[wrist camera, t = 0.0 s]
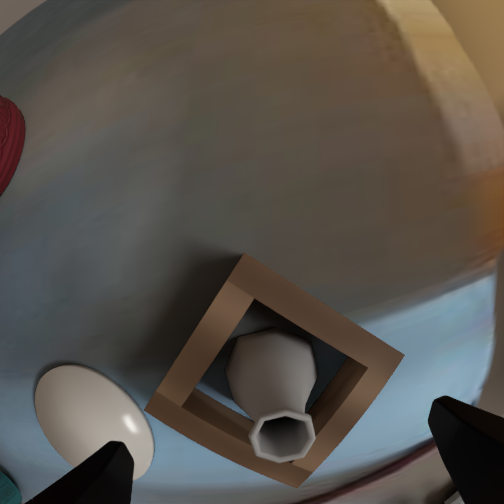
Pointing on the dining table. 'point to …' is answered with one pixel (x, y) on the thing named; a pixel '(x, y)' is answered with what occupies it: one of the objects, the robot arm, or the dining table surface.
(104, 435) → the ceramic plate
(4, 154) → the canister
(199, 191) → the dining table surface
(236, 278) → the walnut collar
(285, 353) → the flask
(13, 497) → the beverage bottle
